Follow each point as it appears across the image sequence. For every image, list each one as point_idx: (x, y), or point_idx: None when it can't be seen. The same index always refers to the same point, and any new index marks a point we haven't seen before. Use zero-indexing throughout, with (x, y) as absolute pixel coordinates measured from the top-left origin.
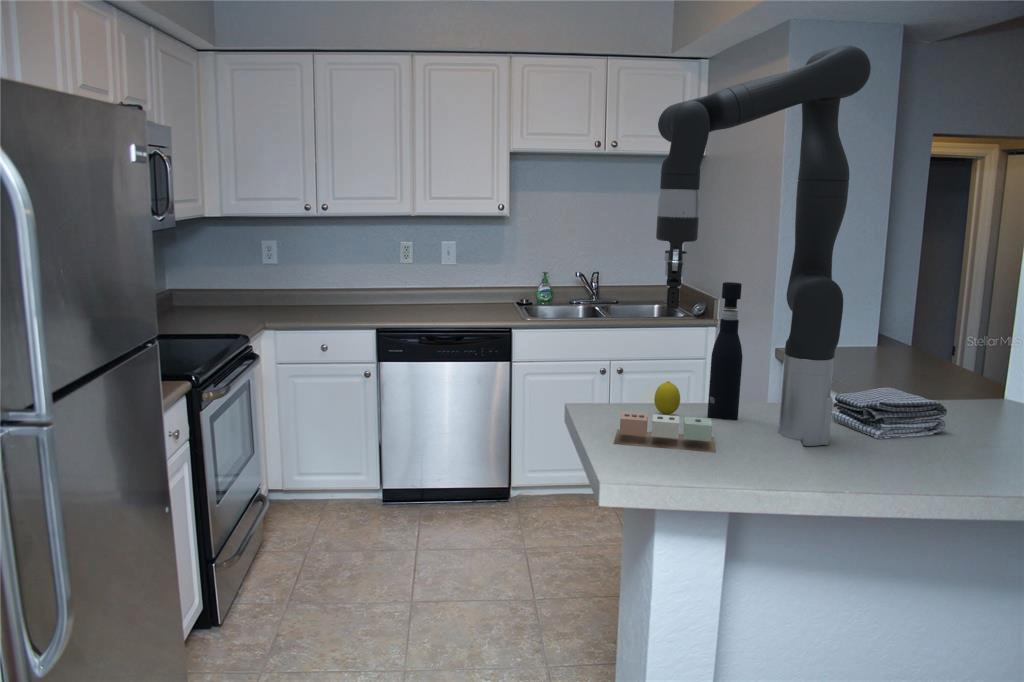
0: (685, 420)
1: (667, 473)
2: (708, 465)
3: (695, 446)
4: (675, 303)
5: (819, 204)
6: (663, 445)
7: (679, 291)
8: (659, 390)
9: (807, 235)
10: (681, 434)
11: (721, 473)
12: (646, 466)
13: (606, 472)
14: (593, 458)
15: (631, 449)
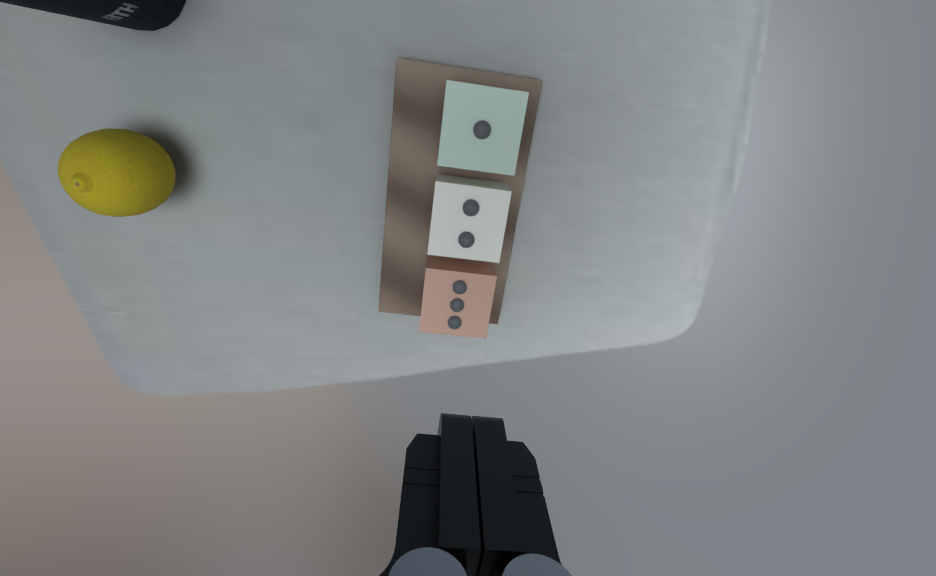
0: (479, 168)
1: (645, 217)
2: (591, 111)
3: None
4: (533, 466)
5: None
6: None
7: (520, 531)
8: (129, 209)
9: None
10: (391, 154)
11: (648, 88)
12: (601, 256)
13: (637, 333)
14: (554, 354)
15: None
